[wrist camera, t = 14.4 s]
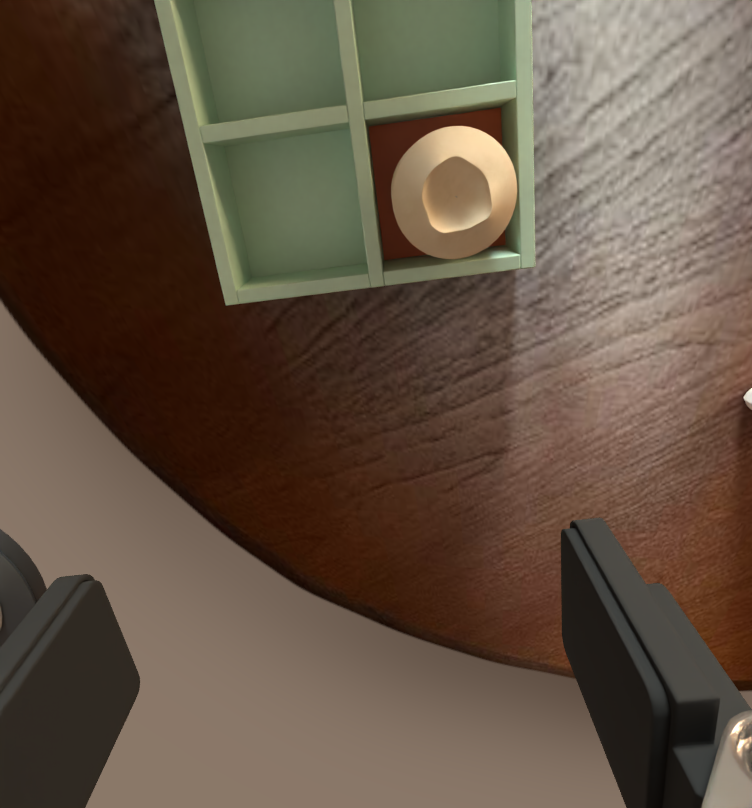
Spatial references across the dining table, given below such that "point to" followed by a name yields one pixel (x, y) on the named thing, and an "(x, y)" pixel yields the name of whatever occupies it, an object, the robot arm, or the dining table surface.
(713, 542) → the dining table surface
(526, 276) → the dining table surface
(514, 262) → the grid
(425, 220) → the candle
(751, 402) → the salt shaker
